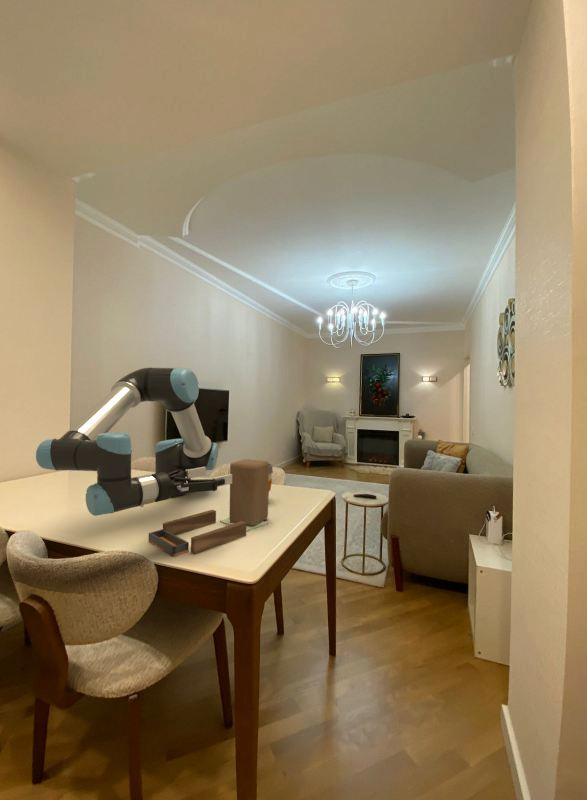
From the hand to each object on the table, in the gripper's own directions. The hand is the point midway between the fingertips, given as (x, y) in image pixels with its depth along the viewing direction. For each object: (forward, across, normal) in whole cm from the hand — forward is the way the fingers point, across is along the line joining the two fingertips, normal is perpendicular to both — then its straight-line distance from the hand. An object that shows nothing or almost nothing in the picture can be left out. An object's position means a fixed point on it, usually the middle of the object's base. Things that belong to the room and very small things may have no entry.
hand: (217, 474), depth 111 cm
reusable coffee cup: (+29, -14, -19) cm, 38 cm away
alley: (-5, 0, -18) cm, 19 cm away
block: (+13, 0, -18) cm, 22 cm away
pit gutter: (-16, -1, -18) cm, 24 cm away
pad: (+11, 0, -18) cm, 21 cm away
